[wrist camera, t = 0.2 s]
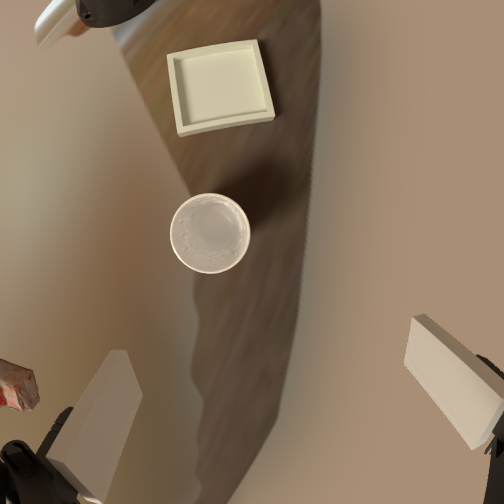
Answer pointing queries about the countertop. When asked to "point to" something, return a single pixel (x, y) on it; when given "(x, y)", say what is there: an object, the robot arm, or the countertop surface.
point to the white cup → (210, 233)
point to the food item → (17, 387)
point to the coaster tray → (219, 87)
